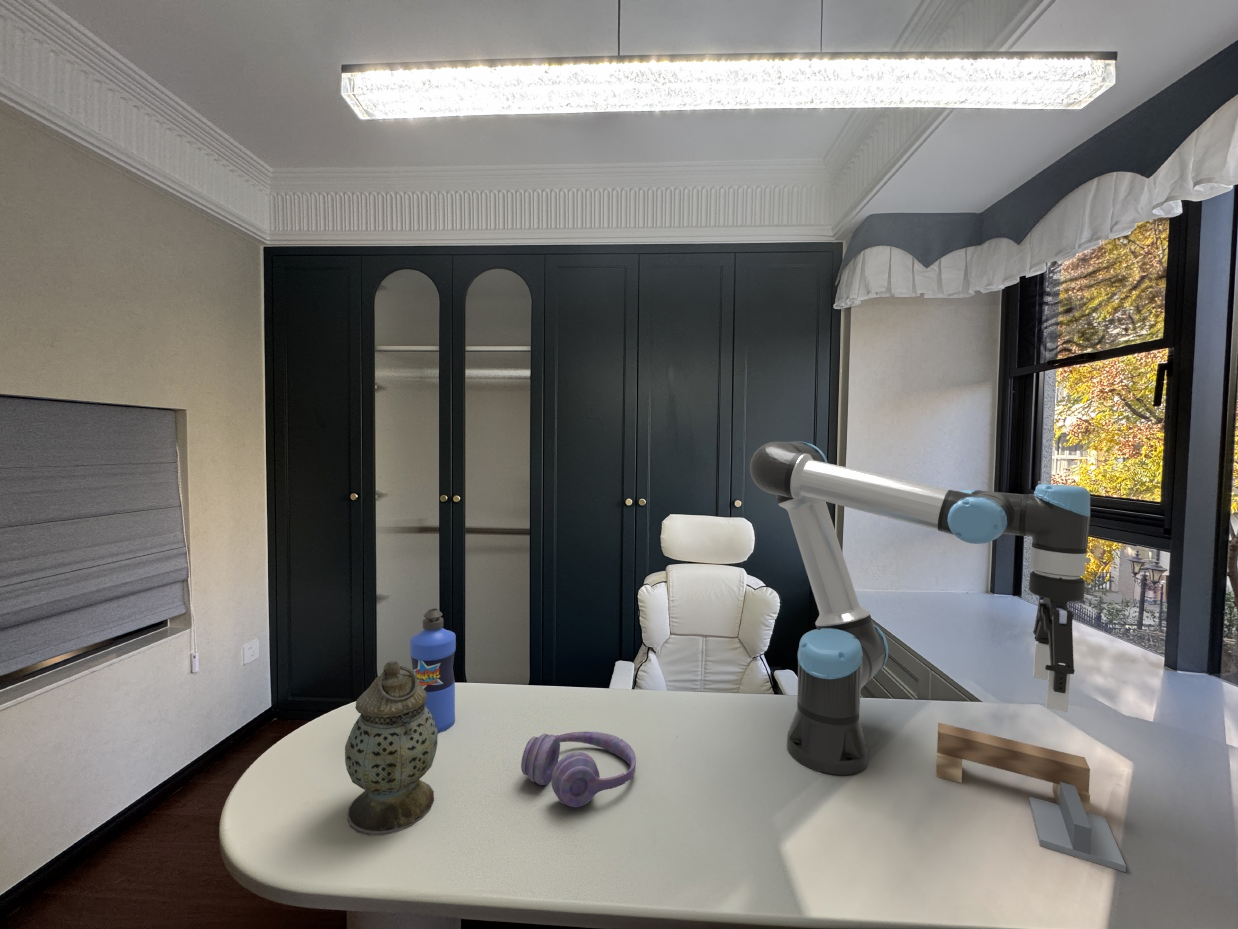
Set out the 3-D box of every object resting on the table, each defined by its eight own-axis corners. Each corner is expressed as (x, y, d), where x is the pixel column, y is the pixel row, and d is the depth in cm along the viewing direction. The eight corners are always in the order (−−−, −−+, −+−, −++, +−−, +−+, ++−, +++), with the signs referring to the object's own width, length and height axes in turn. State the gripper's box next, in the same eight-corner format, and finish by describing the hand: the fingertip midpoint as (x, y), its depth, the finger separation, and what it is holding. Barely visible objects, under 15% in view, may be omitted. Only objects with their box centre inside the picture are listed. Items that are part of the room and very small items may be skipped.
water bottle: (447, 735, 114) (447, 617, 113) (403, 734, 114) (402, 616, 113) (461, 713, 123) (461, 603, 122) (419, 712, 123) (419, 602, 122)
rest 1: (936, 776, 102) (937, 755, 102) (936, 760, 107) (937, 740, 107) (961, 783, 100) (962, 761, 100) (960, 766, 105) (961, 746, 105)
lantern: (441, 777, 100) (441, 642, 99) (431, 831, 86) (431, 675, 85) (358, 786, 97) (357, 647, 96) (334, 844, 83) (333, 683, 82)
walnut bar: (937, 752, 103) (938, 731, 103) (937, 742, 106) (938, 722, 106) (1088, 792, 92) (1090, 769, 91) (1083, 779, 95) (1084, 757, 95)
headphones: (573, 826, 87) (652, 789, 101) (580, 773, 87) (658, 743, 102) (505, 776, 99) (585, 749, 114) (512, 730, 100) (589, 709, 114)
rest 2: (1058, 810, 93) (1059, 787, 93) (1052, 791, 98) (1053, 769, 98) (1088, 819, 91) (1090, 795, 91) (1081, 798, 96) (1082, 776, 96)
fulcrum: (1039, 845, 85) (1041, 814, 84) (1029, 802, 95) (1030, 774, 95) (1125, 872, 80) (1127, 839, 79) (1104, 823, 90) (1106, 794, 90)
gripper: (1105, 594, 82) (1094, 731, 83) (1068, 563, 104) (1061, 672, 105) (1042, 586, 86) (1033, 718, 87) (1020, 557, 108) (1013, 663, 109)
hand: (1048, 693), depth 96 cm, fingers open, 13 cm apart
